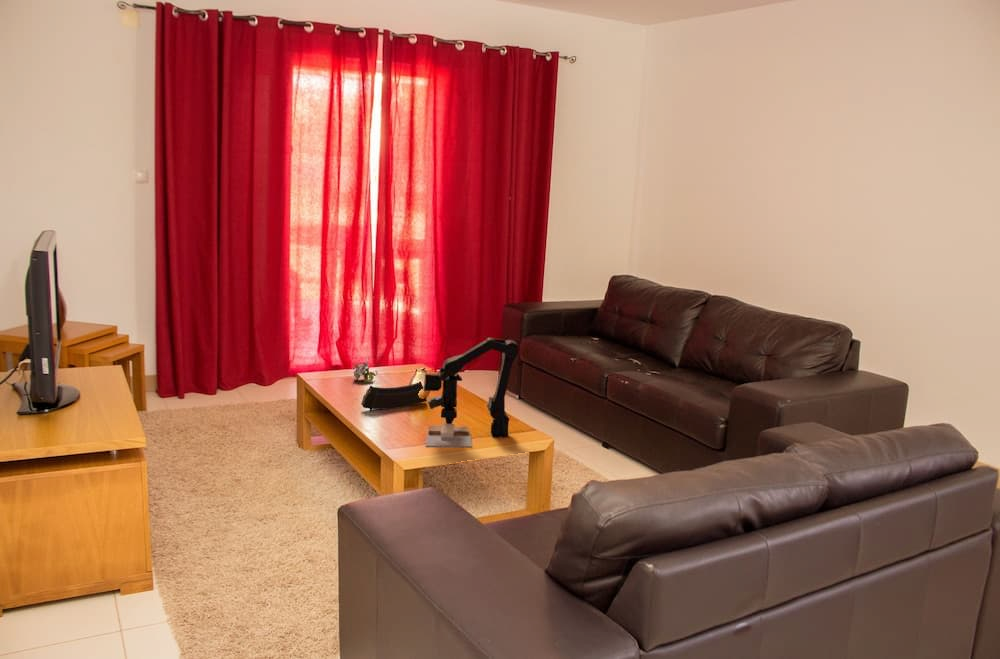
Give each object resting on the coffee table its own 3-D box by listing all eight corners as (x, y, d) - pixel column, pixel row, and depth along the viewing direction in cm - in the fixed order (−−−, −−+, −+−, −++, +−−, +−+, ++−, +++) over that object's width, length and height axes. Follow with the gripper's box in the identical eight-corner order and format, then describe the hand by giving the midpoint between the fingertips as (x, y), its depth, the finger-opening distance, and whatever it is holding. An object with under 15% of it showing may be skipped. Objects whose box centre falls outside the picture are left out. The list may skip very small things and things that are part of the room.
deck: (467, 431, 337) (468, 426, 337) (468, 436, 331) (468, 431, 331) (428, 430, 336) (429, 426, 335) (428, 435, 330) (428, 430, 330)
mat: (470, 436, 331) (470, 435, 331) (471, 447, 319) (471, 446, 319) (426, 435, 330) (426, 434, 330) (425, 446, 317) (425, 445, 317)
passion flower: (356, 391, 406) (348, 369, 409) (377, 385, 410) (369, 363, 413) (360, 383, 396) (352, 361, 399) (381, 377, 401) (373, 355, 404)
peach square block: (454, 428, 331) (454, 423, 329) (453, 438, 327) (453, 433, 325) (442, 428, 331) (441, 423, 329) (440, 437, 327) (440, 432, 325)
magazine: (429, 382, 374) (370, 370, 357) (432, 384, 371) (373, 372, 354) (418, 418, 375) (359, 407, 358) (421, 420, 372) (362, 410, 355)
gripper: (430, 383, 335) (429, 419, 339) (428, 397, 317) (427, 435, 321) (457, 384, 336) (456, 420, 340) (457, 398, 318) (456, 436, 321)
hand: (448, 427), depth 330 cm, fingers closed, pressing on peach square block
